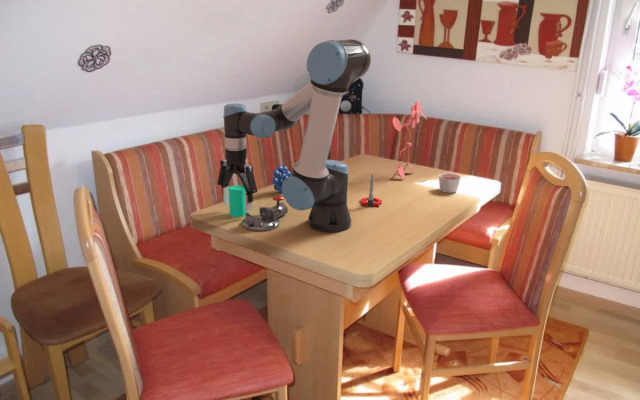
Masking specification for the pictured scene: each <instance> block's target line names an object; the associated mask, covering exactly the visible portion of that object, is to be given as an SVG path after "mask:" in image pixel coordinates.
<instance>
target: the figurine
mask: <svg viewBox="0 0 640 400" xmlns="http://www.w3.org/2000/svg"><path fill="white" fill-rule="evenodd" d="M422 108H423V105H420V99H418V100H417V101H416V102H415V104H411V106H410V111H411V113H410V115H409V117H408V119H407V120H406V121H405V122H404V123H403V125H402V123H401V121H400V120H399V118H397V117H396V116H393V118H392V126H393V127H394V129H395V130H396V131H397V132H398V133H401V132H400V131H401V130H402V128H404V127H405V128H406V129H407V131H408V133H409V137H408V141H407V142H406V143H405V147H404V148H403V149H402V150H401V151H399V157H401V153H402V152H404V151H405V150H407V151H408V152H407V153H408V154H407V156H408V157H407V158H408V159H407V161H406V165H405V166H404V168H403V167H402V166H401V164H398V165H397V167H396V169H397V170H396V171H395V173H394V174H393V176H392V178H395V176H396V174H397V173H398V175H399V177H400V178H401V179H402V181H404V179H405V172H404V171H405V170H406V168H408V167H407V166H409V169H410V170H411V172H412V173H413V174H414V171H413V168H412V167H411V164H410V149H411V147H412V146H413V145H412V143H411V136H412V135H411V134H412V133H411V130H410V129H409V127H408V126H410V125H411V127H410V128H411V129H412V130H413V129H414V128H416V125H417V124H419V123H420V122H421V120H420V116H421V115H422V117H423V118H424V119H425V120H428V118H427V116H426V115H425V114H424V113H423V111H422ZM425 175H426V176H427V177H429V176H428V174H427V173H425ZM386 180H388V181H389V179H387V178H386ZM422 182H424V180H422V181H420V183H422Z"/></svg>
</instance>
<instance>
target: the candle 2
mask: <svg viewBox="0 0 640 400" xmlns="http://www.w3.org/2000/svg"><path fill="white" fill-rule="evenodd" d="M438 181H439V190H440V191H441V192H443V193H448V194H454V193H456V192H457V191H458V187H459V185H460V181H461V176H460V175H459V174H456V173H455V174H454V173H448V172H446V173H441V174H438Z"/></svg>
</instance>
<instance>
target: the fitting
mask: <svg viewBox="0 0 640 400" xmlns="http://www.w3.org/2000/svg"><path fill="white" fill-rule="evenodd" d="M272 200H273V201H275V202H276V205H275V204H274V205H273V206H271V207H267V206H266V207H265V206H260V207H259V214H255V215H252V214H250V213H249V212H246V213H245V217H244V219H243V220H242V221H241V224H242V225H243V226H242V227H243V228H244V229H245V228H246V230H248V231H253V232H269V231H272V230H276V229H277V228H278V227H279V226H280V219H279V218H280V217H283V216H285V215H287V214H288V211H289V209H288V206H287V205H286V204H285V203H284V202H281V203H280V201H284V200H285V198H284V196H283V195H277V194H276V195H273V196H272Z"/></svg>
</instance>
